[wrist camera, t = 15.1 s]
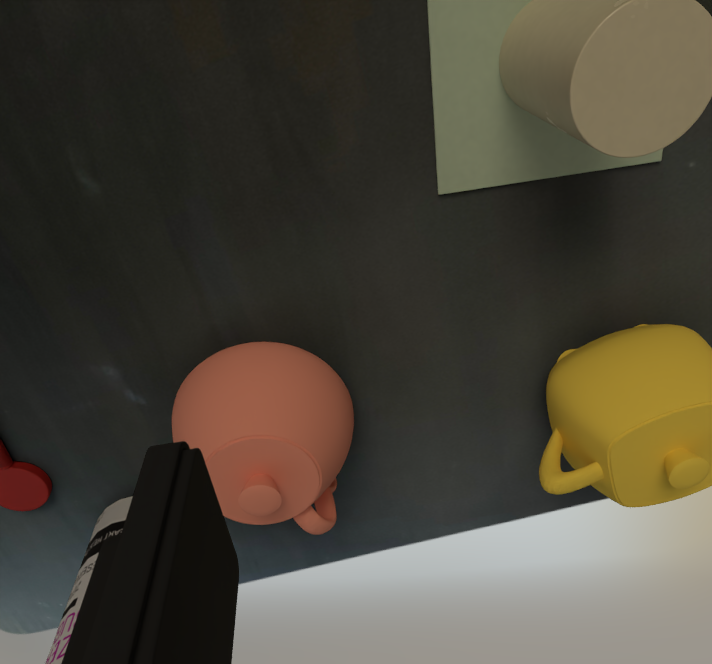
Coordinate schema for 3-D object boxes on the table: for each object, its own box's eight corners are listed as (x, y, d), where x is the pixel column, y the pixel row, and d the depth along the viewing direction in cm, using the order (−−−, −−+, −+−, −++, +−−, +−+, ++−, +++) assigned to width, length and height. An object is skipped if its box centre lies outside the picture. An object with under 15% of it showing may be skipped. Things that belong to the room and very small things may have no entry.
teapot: (734, 268, 42) (860, 350, 33) (739, 387, 47) (847, 485, 38) (487, 356, 44) (540, 457, 34) (519, 461, 49) (572, 571, 40)
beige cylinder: (498, -2, 32) (574, 4, 23) (616, -20, 32) (736, -20, 23) (498, 122, 35) (565, 168, 27) (606, 106, 35) (707, 146, 27)
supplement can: (203, 559, 52) (174, 751, 39) (103, 558, 50) (38, 756, 38) (203, 489, 48) (170, 678, 35) (93, 487, 46) (17, 681, 34)
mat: (422, -78, 30) (423, -78, 30) (696, -118, 30) (699, -118, 30) (437, 193, 37) (438, 194, 37) (659, 160, 37) (661, 160, 37)
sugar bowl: (281, 291, 40) (278, 380, 31) (394, 423, 46) (418, 527, 37) (142, 386, 42) (103, 492, 33) (267, 497, 49) (262, 611, 40)
